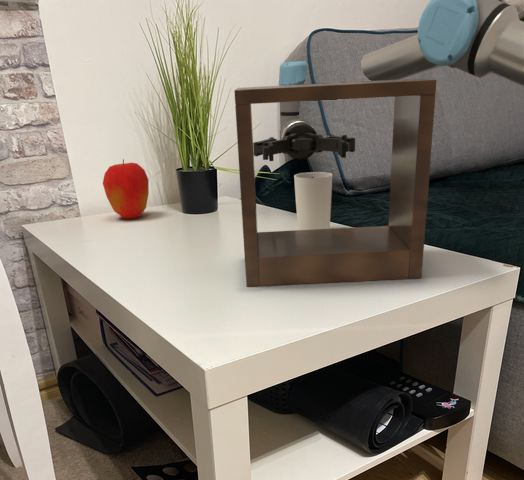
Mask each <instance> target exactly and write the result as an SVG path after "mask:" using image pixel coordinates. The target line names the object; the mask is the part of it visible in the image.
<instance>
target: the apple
mask: <svg viewBox="0 0 524 480" xmlns="http://www.w3.org/2000/svg"><path fill="white" fill-rule="evenodd" d="M149 185H150V184H149V178H148V175H147V172H146V170H145V169H144V168H143V167H142V166H141V165H140V164H139V163H137V162H125V159H124V158H123V159H122V163H117V164H113V165H110V166H108V168H107V169H106V171H105V172H104V175H103V180H102V186H103V189H104V192H105V196H106V199H107V200H108V203H109V204H110V206H111V208H112V210H113V212H114V213H116V214H117V215H118V216H120V217H121V218H122V219H128V220H129V219H131V220H132V219H138V218H140V217H141V216H142V214H143V213H144V211H145V210H146V209H147V205H148V198H149V193H150V192H149V189H150V188H149Z"/></svg>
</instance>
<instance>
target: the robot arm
mask: <svg viewBox="0 0 524 480" xmlns="http://www.w3.org/2000/svg"><path fill="white" fill-rule="evenodd" d="M417 27H418V28H417V34H415V35H412V36H410V37H407V38H404V39H402V40H399V41H397V42H394V43H391V44H389V45H387V46H383V47H381V48H379V49H376V50H373V51H371V52H368V53H366V54H363V55H364V56H363V55H362V56H363V58H362V60H361V67H362V71H363V73H364V75H365V76H366V77H367V78H368V79H369V80H371V81H381V80H400V79H410V78H411V77H415V76H417V75H420V74H421V75H422V74H424V73H426V72H430V71H433V70H436V69H439V68H442V67H449V68H451V69H458V70H460V71H462V72H464V73H467V74H469V75H472V76H475V78H479V79H482V78H485V77H486V76H488V75H491V74H494V75H496V76H498V77H501V78H503V79H506V80H508V81H510V82H511V83H514V84H517V85H519V86H522V87H524V21H523V20H520V17H519V13H518V8H517V7H516V6H514V5H512V4H508V3H507V2H506V1H505V0H430V1H428V3H427V5H426V6H425V7H424V9H423V10H422V13H421V16H420V19H419V22H418V26H417ZM306 61H307V60H300V61H299V60H298V61H284V62H281V64H280V65H279V76H278V78H279V79H278V86H283V85H303V84H304V82H305V79H306V71H307V70H306V69H307V63H306ZM299 107H300V101H297V102H279V124H280V125H279V126H280V129H279V139H277V138H276V137H274V136H270V137H269V138H267V139H262V140H259V141H254V142H253V152H254V157H259V156H262V161H268V160H269V162H274V155H279V154H284V155H288V157H290V158H292V159H294V160H297V161H303V160H307V159H309V158H310V157H312V156H313V155H314V154H315V153H316V154H318V153H323V152H331V153H336V154H337V155H338V156H339V157H340V158H343V159H347V153H349V152H350V153H354V152H356V137H348V135H347V134H342V135H341V136H339V135H334V134H328V135H326V137H324V136H323V134H317V131H316V130H315V128H312V127H311V126H310V124H308V123H306V122H304V121H301V120H299V116H297V115H299Z"/></svg>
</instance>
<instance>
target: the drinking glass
mask: <svg viewBox="0 0 524 480" xmlns="http://www.w3.org/2000/svg"><path fill="white" fill-rule="evenodd" d="M293 178H294V194H295V208H296V222H297V223H296V226H297V230H314V229H331V214H332V212H331V211H332V194H333V193H332V192H333V191H332V190H333V174H332V173H331V172H325V171H310V172H299V173H296V174H294V175H293Z"/></svg>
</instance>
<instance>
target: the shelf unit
mask: <svg viewBox="0 0 524 480" xmlns="http://www.w3.org/2000/svg"><path fill="white" fill-rule="evenodd" d="M437 82H438V81H437V79H423V78H421V79H420V78H415V79H414V78H406V79H400V80H381V81H361V82H342V83H322V84H303V85H283V86H279V85H265V86H247V87H237V88H236V89H234V91H233V92H234V104H235V108H234V109H235V122H236V124H235V125H236V139H237V154H238V156H237V157H238V171H239V172H238V173H239V188H240V206H241V218H242V219H241V220H242V233H243V234H242V235H243V251H244V252H243V253H244V254H243V256H244V268H245V269H244V270H245V285H246V287H247V288H248V287H259V286H260V287H265V286H266V287H267V286H287V285H305V284H306V285H307V284H324V283H326V284H328V283H349V282H368V281H369V282H371V281H390V280H407V279H409V280H410V279H422V276H423V263H424V251H425V250H424V249H425V238H426V237H425V236H426V224H427V211H428V199H429V185H430V171H431V159H432V158H431V157H432V148H433V147H432V146H433V135H434V134H433V132H434V121H435V119H434V118H435V106H436V94H437ZM391 97H392V98H393V97H394V101H393V102H394V103H393V104H394V105H393V124H392V125H393V127H392V143H391V144H392V147H391V165H390V185H389V205H388V207H389V208H388V225H380V226H375V225H374V226H361V227H360V226H357V227H336V228H330V229H314V230H298V229H296V230H295V229H294V230H277V231H259V230H258V213H257V194H256V193H257V192H256V174H255V172H256V171H255V156H254V148H253V143H254V133H253V113H252V105H255V104H274V103H275V104H276V103H280V102H297V101H317V100H337V99H346V100H352V99H353V100H354V99H355V100H356V99H371V98H372V99H373V98H375V99H376V98H391Z"/></svg>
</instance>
